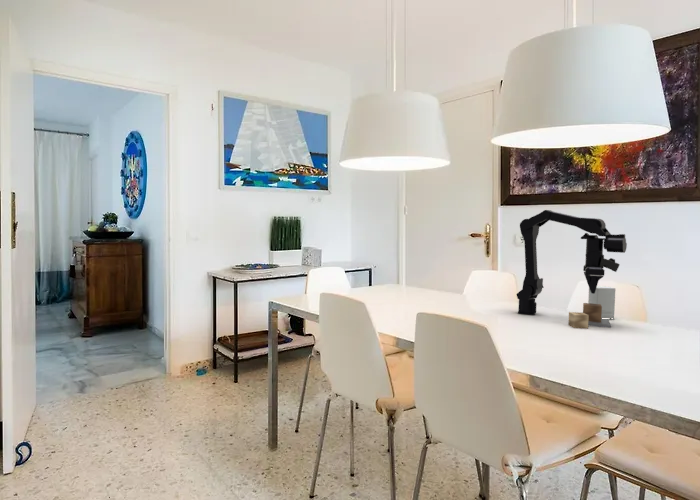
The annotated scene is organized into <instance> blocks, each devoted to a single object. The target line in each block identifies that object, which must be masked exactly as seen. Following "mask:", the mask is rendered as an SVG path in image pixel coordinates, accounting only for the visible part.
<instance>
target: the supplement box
mask: <svg viewBox="0 0 700 500" xmlns="http://www.w3.org/2000/svg"><path fill="white" fill-rule="evenodd" d="M587 300H588V302H587V303H591V304H601V306H602V314H601V318H613V319H612V320H615V306H616V305H615V304H616V288H615V287H611V286H606V285H602V286H601V285H597V287H596V291H595V293H594V294H593V293H591V291H590V289H589V288H588V299H587Z"/></svg>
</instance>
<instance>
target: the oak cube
mask: <svg viewBox="0 0 700 500" xmlns="http://www.w3.org/2000/svg"><path fill="white" fill-rule="evenodd" d="M588 318H589V315H587V314H585V313H583V312H578V311H575V312H573V311H569V312H568V321H567V322H568V324H567V325H568V326H569V327H571V328H573V329H589V325H588Z"/></svg>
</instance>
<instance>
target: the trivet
mask: <svg viewBox="0 0 700 500" xmlns="http://www.w3.org/2000/svg"><path fill="white" fill-rule="evenodd" d="M588 326H590V327H591V326H592V327H604V328H605V327H606V328H612V323H611V321H610V319H602V318H601V322H591V321H588Z"/></svg>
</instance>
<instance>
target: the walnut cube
mask: <svg viewBox="0 0 700 500" xmlns="http://www.w3.org/2000/svg"><path fill="white" fill-rule="evenodd" d="M582 305H583V306H582V313H585V314H587V315H589V318H588V321H591V322H601V314H602V306H601V304H591V303H588V302H583V304H582Z"/></svg>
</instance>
